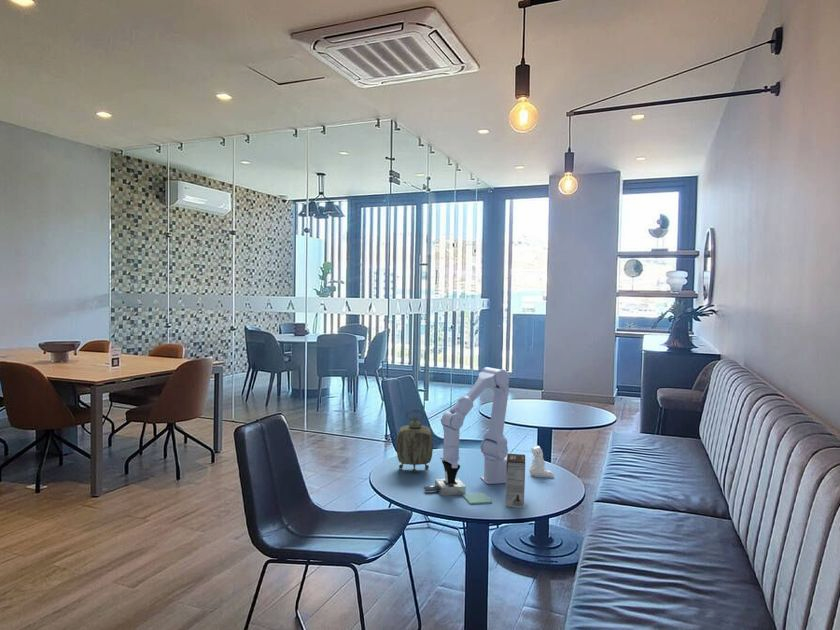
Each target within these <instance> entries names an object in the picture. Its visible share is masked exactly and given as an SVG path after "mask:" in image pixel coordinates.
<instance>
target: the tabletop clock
mask: <svg viewBox="0 0 840 630" xmlns="http://www.w3.org/2000/svg"><path fill="white" fill-rule="evenodd" d="M413 412H418V413H421V414H422V417H419V418H417V416H414V417H410V416H409V415H410V413H413ZM406 417H407V418H408V419H409V420H410V423H408V425H402V426H400V427H399V429H398V432H397V437H396V438H397V439H396V455H397V460H398V462H399V463H401V464H400V465H399V466H398V468H399V469H403V467H404V466H403V465H411V466H413V469H412V473H413V474H416V473H417V469H416V466H418V465H421V466H422V465H424V469H426V470H428V469H429V468H430V465H428V464H430V462H431V460H432V459H433V458H432V457H433V452H434V451H433V450H434V445H433V444H434V442H433V434H432V430H431V427H429V426H426V425H422V424H421V422H420V420H422V419H423V418H424V417H425V413H424V411H422V410H419V409H411V410H409V411H408V412H407V413H406Z"/></svg>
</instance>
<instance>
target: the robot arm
mask: <svg viewBox="0 0 840 630" xmlns="http://www.w3.org/2000/svg"><path fill="white" fill-rule="evenodd" d="M509 381H510V375H509V373H508V372H507V371H506V370H505V369H502V368H501V369H499V368H494V367H490V366H485V367H483V368H482V369H481V371H480V372H479V373H478V378H477V380H476V381H475V383H474V384H473V386H471V387H470V390H469V391H468V393H467V394H466V395H464V396H461V397H459V398H458V399H457V401H456V402H455V404H454V405H453V406H452V407H451V408H450V409H449V411H446V412H444V413H443V414H442V417H441V418H440V423H441V426H442V430H443V446H442V447H443V451H442V456H441V455H440V456H439V459H440V460H441V463H442V465H443V468H444V471H445V470H446V471H447V479H448V483H449V484H454V482H455V479H456V478H457V475H458V472H459V471H460V469H461V465H460V464H459V460H460V428H463V426H464V422H465V418H466V417H467V415H468V414H469V412H470V411H471V410H472V409H473V408H474V401H475V400H476V399H478V398H479V396H480V395H481V394H482V393H483V392H484V391H485V390H486V389H488V388H490V389H491V390H492V392H493V399H492V406H491V412H490V421H489V429H488V432H486V433H485V434H484V435H483V439H482V441H481V444H480V452H481V453H482V454H483V455H482V456H483V457H484V460H483V463H484V465H483V470H484V471H483V475H481V476H480V479H482V481H483V482H485V484H487V485H494V484H495V485H496V484H506V468H507V454H509V453H508V452H509V449H508V439H507V438H506V436H505V435H504V428H505V422H506V421H505V419H506V413H507V407H508V398H509V392H510V391H509V390H510V387H509Z"/></svg>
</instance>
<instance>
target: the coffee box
mask: <svg viewBox="0 0 840 630" xmlns="http://www.w3.org/2000/svg"><path fill="white" fill-rule="evenodd" d="M506 458H507V468H506V483H505V508H517V509H524V504H525V484H526V481H525V480H526V454H520V453H519V454H518V453H507V456H506Z"/></svg>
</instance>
